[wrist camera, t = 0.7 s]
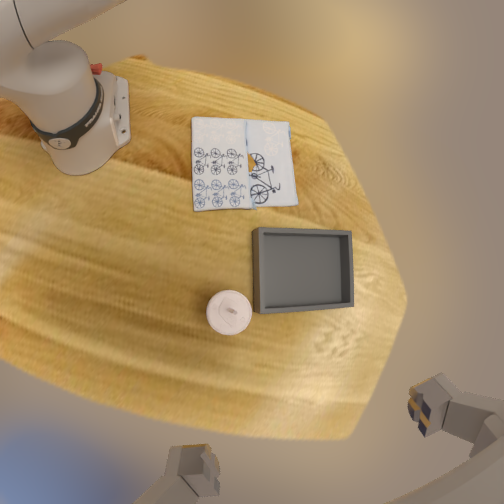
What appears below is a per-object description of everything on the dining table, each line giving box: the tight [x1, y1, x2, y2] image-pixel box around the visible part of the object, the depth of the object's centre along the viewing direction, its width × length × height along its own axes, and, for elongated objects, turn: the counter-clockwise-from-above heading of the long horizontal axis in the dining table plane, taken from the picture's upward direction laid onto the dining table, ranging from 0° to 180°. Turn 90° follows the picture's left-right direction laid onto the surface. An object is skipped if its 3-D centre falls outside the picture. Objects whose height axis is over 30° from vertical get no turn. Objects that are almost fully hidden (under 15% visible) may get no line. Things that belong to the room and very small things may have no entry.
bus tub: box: [252, 227, 354, 314], centre depth 52 cm, size 14×18×4 cm
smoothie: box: [206, 290, 252, 335], centre depth 43 cm, size 6×6×14 cm
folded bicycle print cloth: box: [191, 117, 298, 211], centre depth 53 cm, size 19×20×2 cm
